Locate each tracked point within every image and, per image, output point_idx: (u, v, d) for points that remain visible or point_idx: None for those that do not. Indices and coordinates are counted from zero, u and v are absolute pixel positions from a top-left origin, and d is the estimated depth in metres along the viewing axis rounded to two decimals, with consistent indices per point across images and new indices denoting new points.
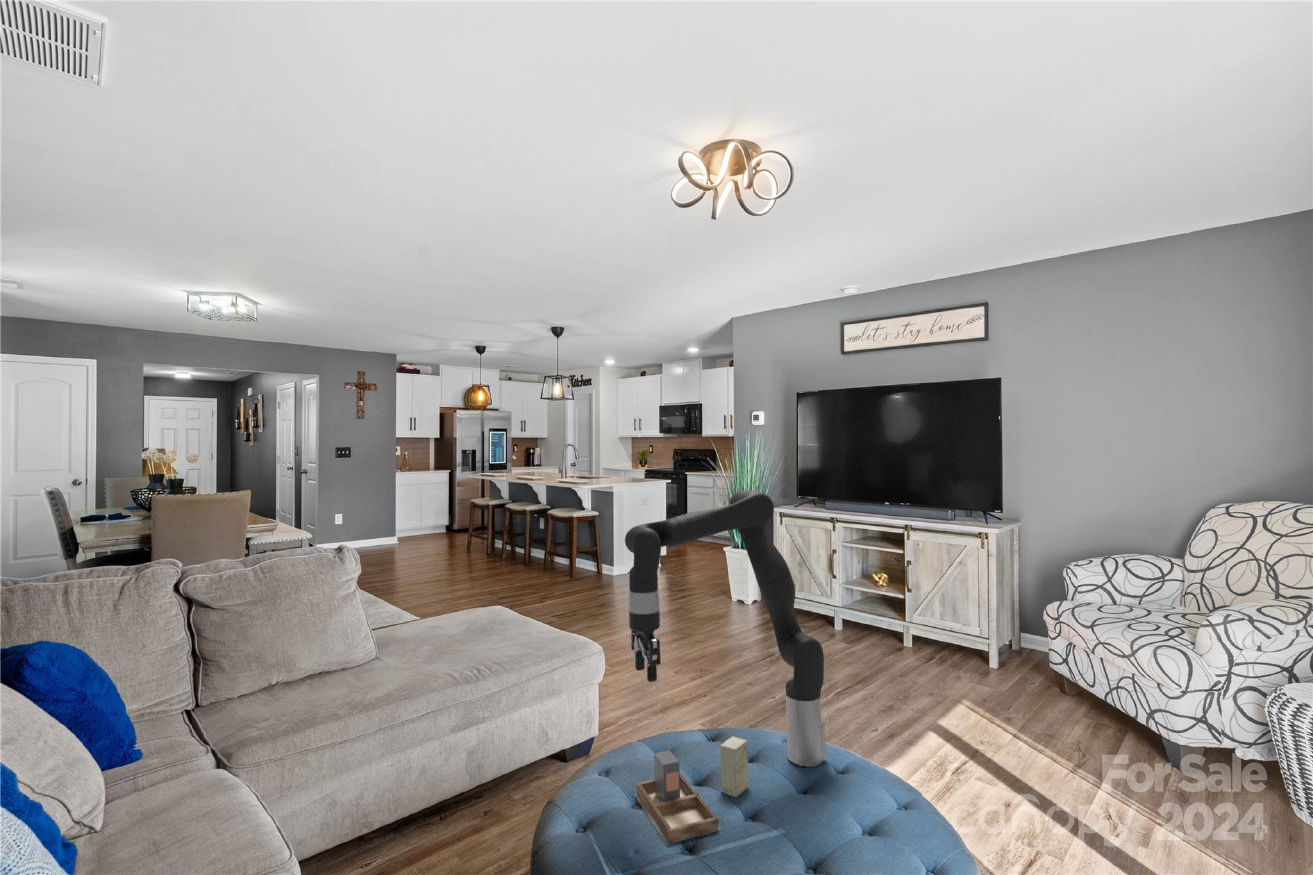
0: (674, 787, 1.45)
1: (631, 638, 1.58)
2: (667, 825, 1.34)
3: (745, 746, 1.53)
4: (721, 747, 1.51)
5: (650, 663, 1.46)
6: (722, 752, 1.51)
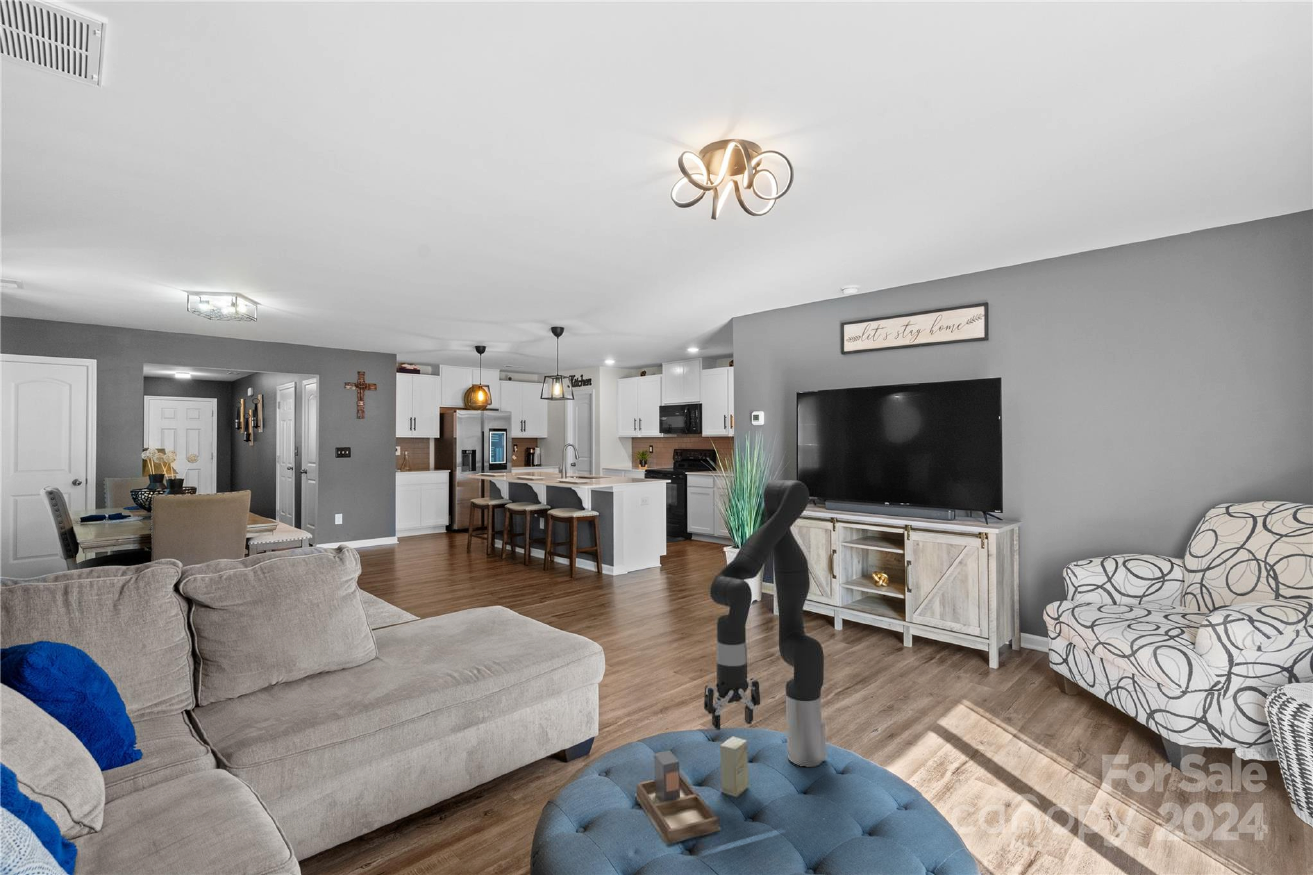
0: (674, 787, 1.45)
1: (709, 702, 1.49)
2: (667, 825, 1.34)
3: (745, 746, 1.53)
4: (721, 747, 1.51)
5: (759, 702, 1.54)
6: (722, 752, 1.51)
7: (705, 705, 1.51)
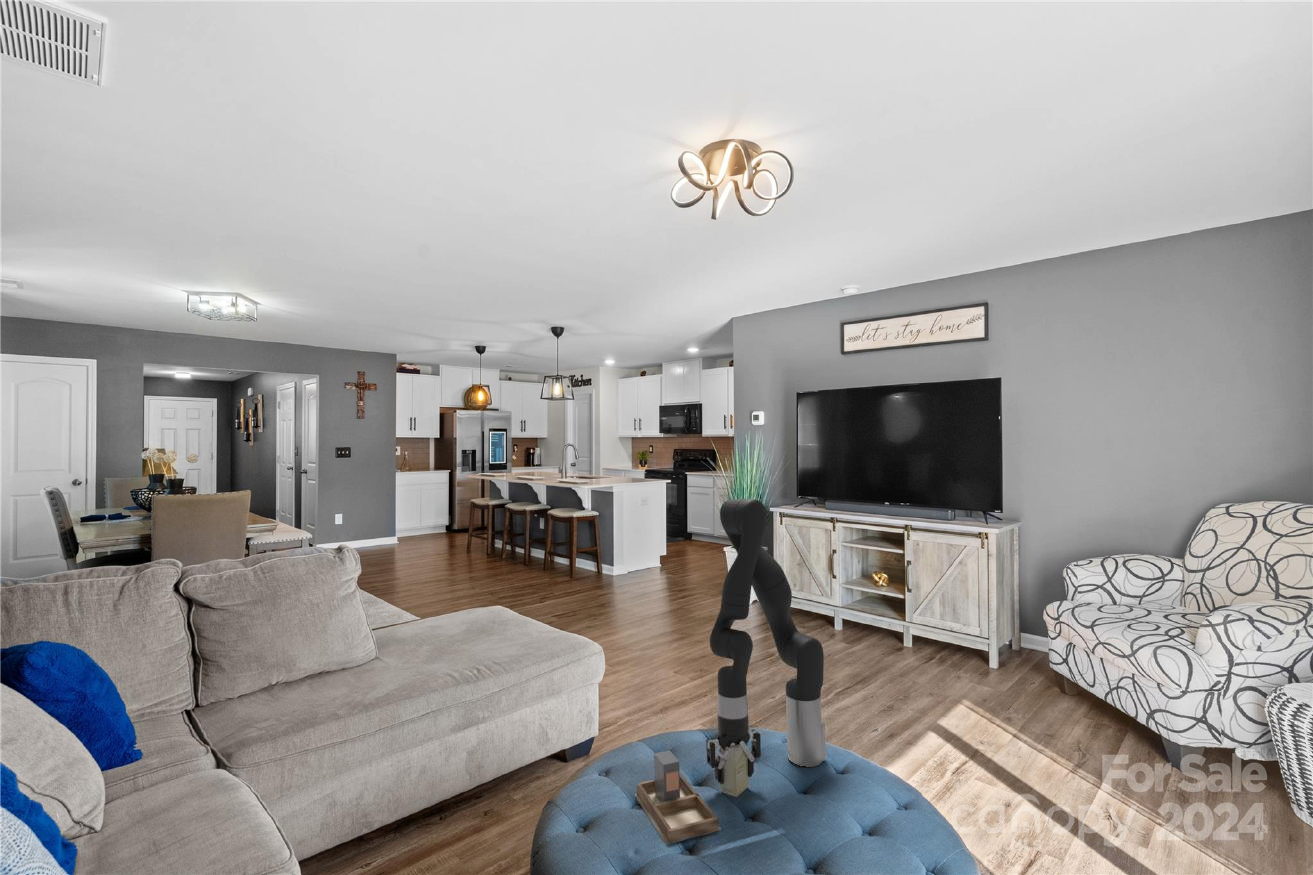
0: (674, 787, 1.45)
1: (711, 756, 1.49)
2: (667, 825, 1.34)
3: None
4: (721, 747, 1.51)
5: (759, 754, 1.54)
6: (722, 752, 1.51)
7: (708, 759, 1.51)
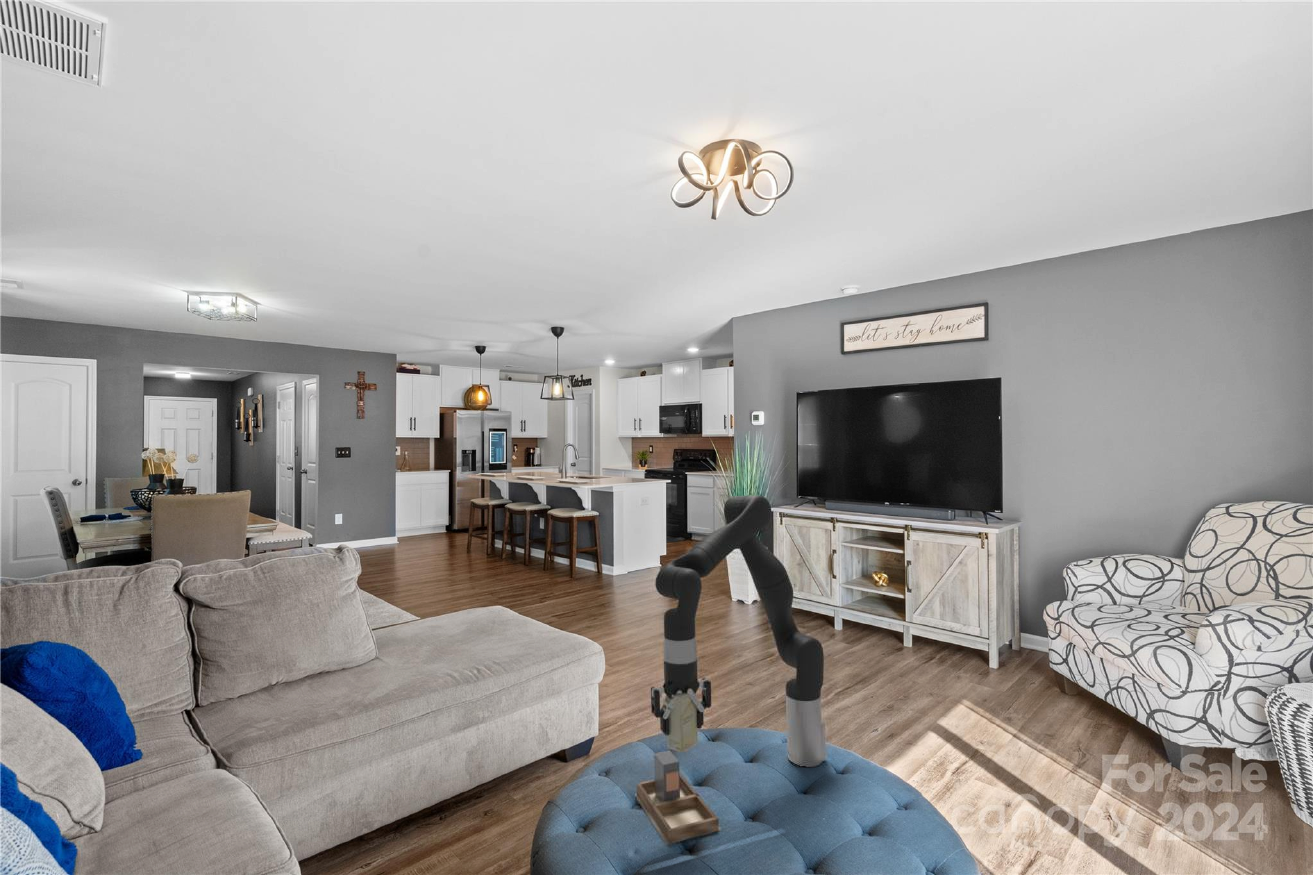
0: (674, 787, 1.45)
1: (655, 705, 1.36)
2: (667, 825, 1.34)
3: None
4: None
5: (710, 704, 1.41)
6: (668, 701, 1.38)
7: (652, 708, 1.38)
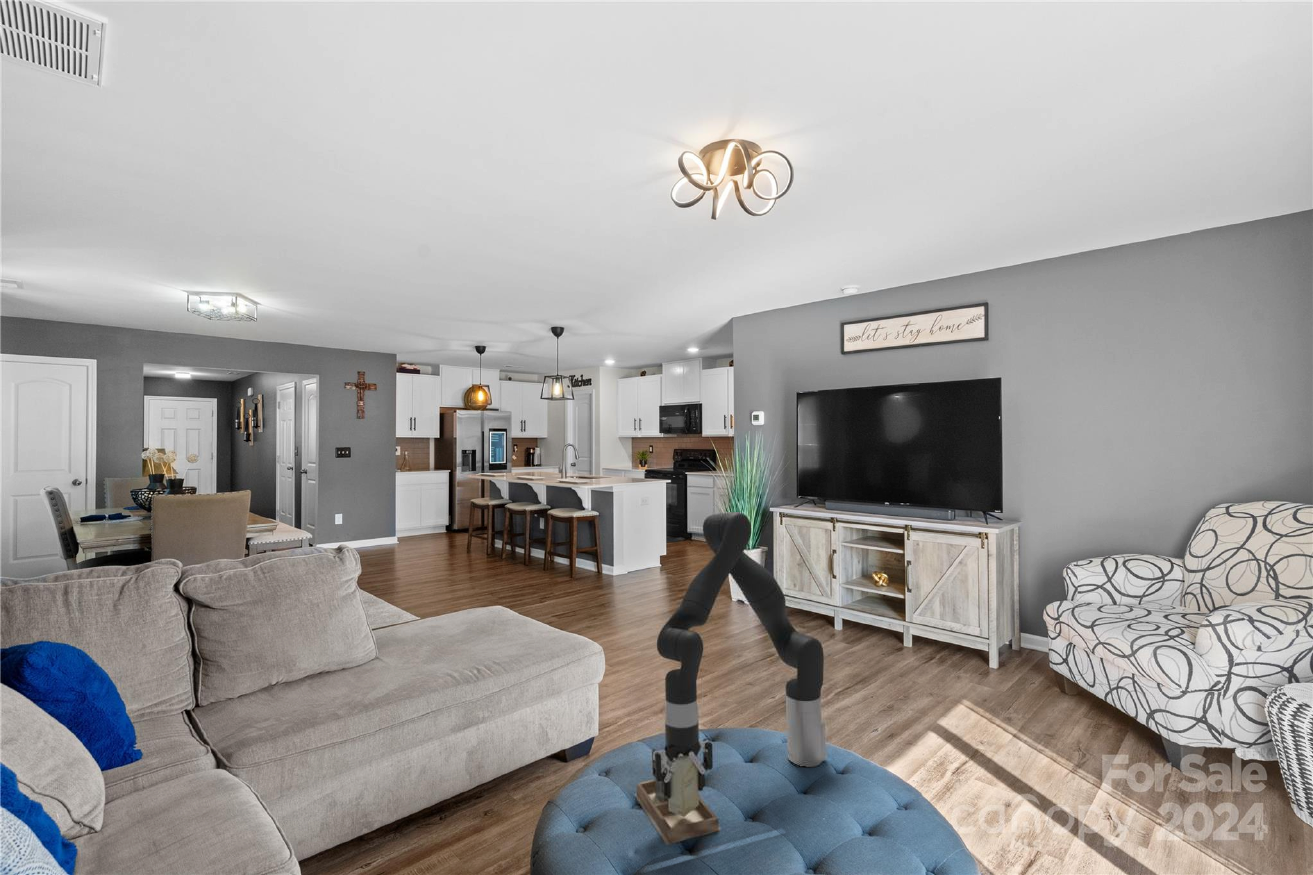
0: None
1: (656, 769, 1.36)
2: (667, 825, 1.34)
3: None
4: None
5: (711, 766, 1.40)
6: (669, 764, 1.38)
7: (653, 771, 1.38)
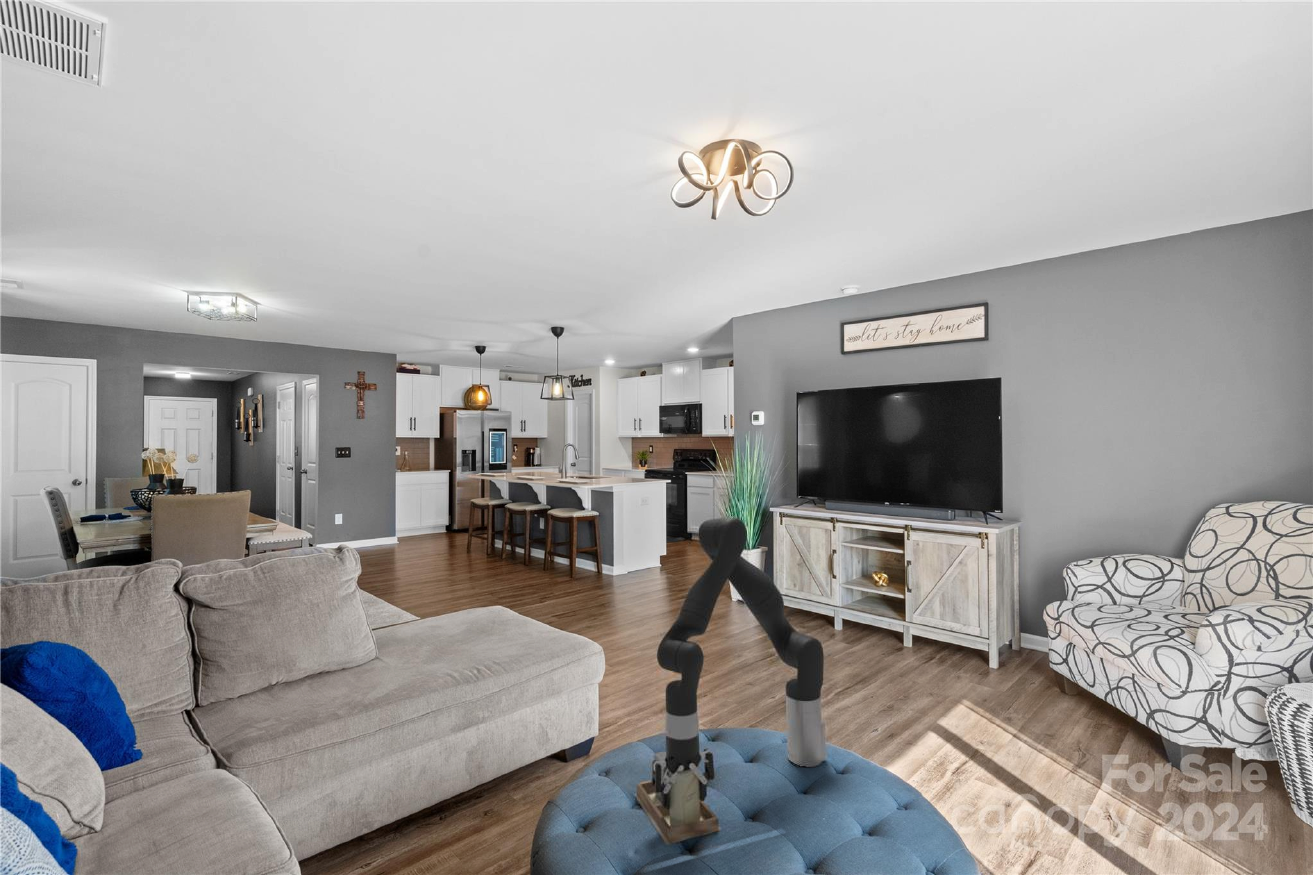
0: None
1: (656, 779, 1.35)
2: (667, 825, 1.34)
3: None
4: (669, 773, 1.38)
5: (713, 776, 1.40)
6: None
7: (653, 782, 1.37)
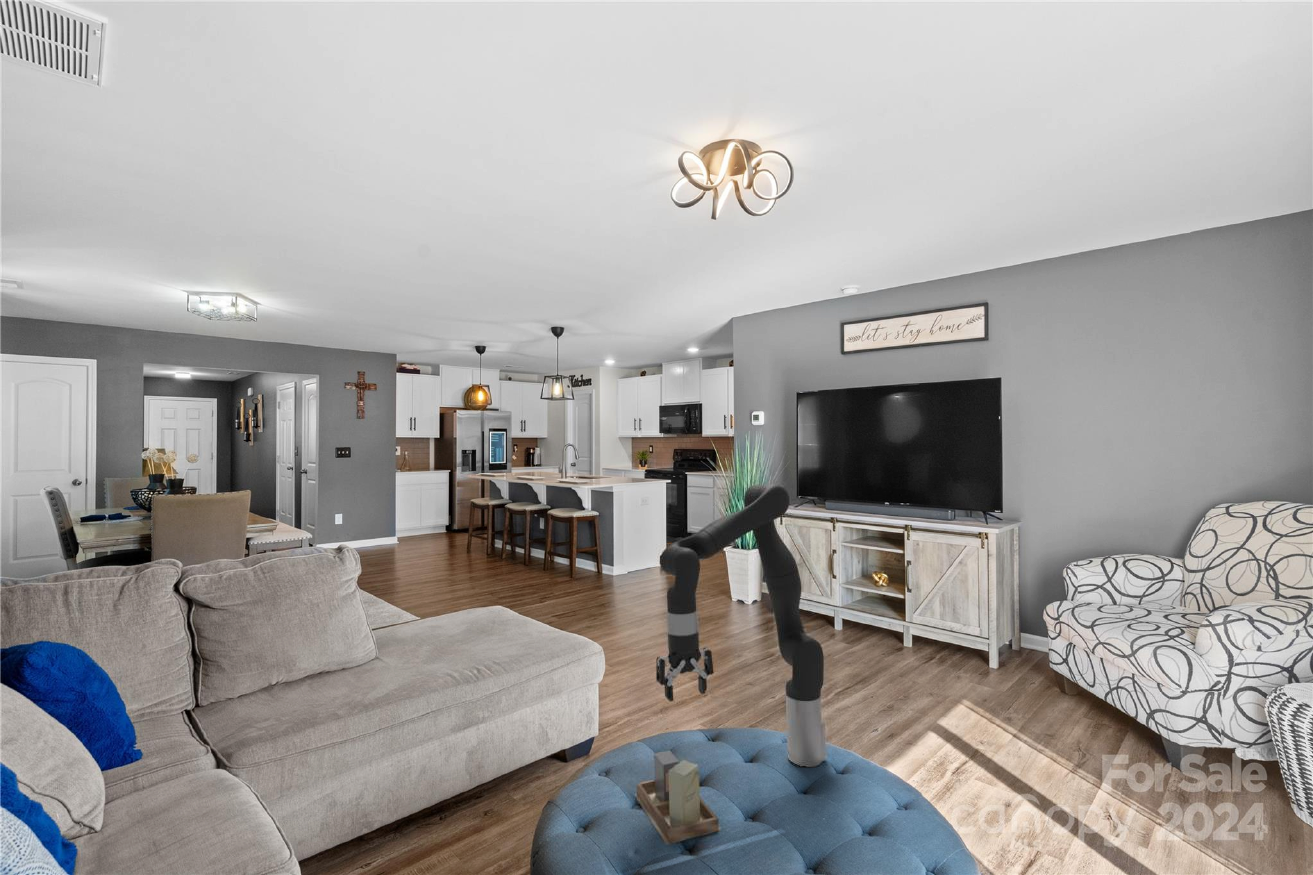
0: None
1: (660, 673, 1.47)
2: (667, 825, 1.34)
3: (696, 771, 1.40)
4: (669, 773, 1.38)
5: (712, 671, 1.52)
6: (670, 778, 1.38)
7: (657, 677, 1.49)
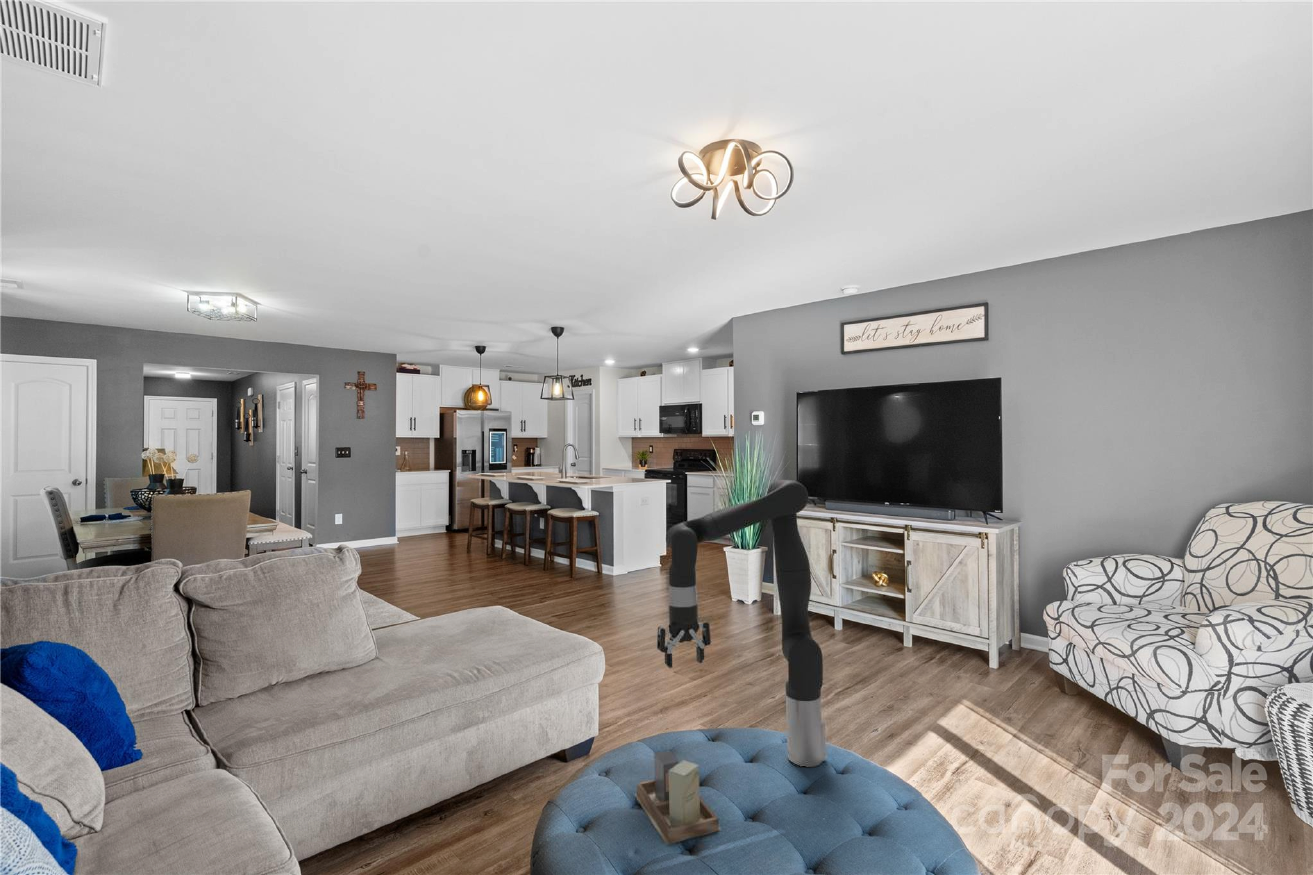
0: None
1: (661, 641, 1.59)
2: (667, 825, 1.34)
3: (696, 771, 1.40)
4: (669, 773, 1.38)
5: (709, 642, 1.64)
6: (670, 778, 1.38)
7: (658, 645, 1.61)
